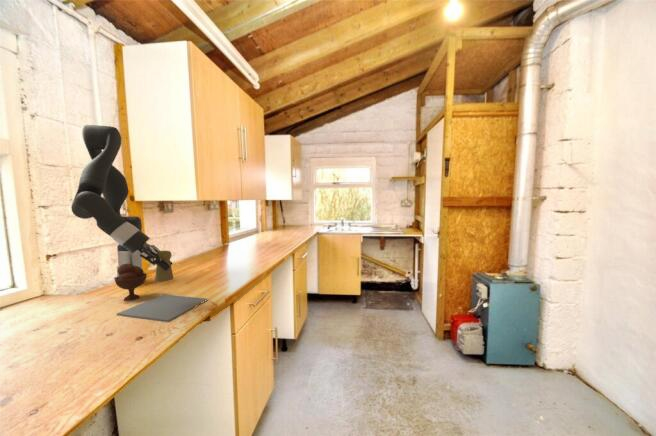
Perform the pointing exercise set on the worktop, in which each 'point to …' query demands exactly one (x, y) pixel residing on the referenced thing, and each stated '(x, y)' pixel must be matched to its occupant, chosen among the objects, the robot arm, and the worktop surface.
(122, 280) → the ice cream bowl
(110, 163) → the robot arm
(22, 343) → the worktop surface
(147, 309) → the charcoal mat
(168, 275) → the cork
